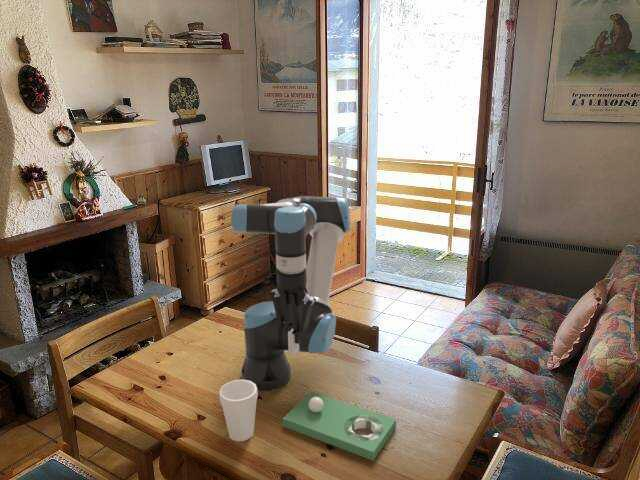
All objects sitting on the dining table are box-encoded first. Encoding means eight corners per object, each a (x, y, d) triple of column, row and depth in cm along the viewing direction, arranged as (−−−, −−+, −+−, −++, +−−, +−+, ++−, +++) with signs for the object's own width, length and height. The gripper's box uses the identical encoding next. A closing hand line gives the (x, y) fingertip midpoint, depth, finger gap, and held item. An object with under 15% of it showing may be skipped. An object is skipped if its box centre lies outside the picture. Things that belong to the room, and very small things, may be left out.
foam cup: (243, 450, 129) (240, 405, 125) (215, 437, 134) (211, 393, 130) (266, 429, 136) (264, 386, 132) (239, 417, 141) (236, 375, 137)
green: (283, 426, 137) (282, 418, 137) (310, 398, 149) (310, 391, 148) (373, 460, 125) (373, 452, 124) (395, 427, 136) (396, 419, 135)
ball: (305, 412, 139) (305, 399, 137) (313, 404, 142) (313, 392, 141) (318, 417, 137) (318, 404, 136) (326, 409, 140) (326, 396, 139)
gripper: (261, 269, 131) (265, 352, 138) (305, 278, 124) (307, 365, 131) (278, 260, 137) (281, 340, 144) (321, 268, 130) (322, 352, 138)
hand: (294, 352), depth 138 cm, fingers closed
